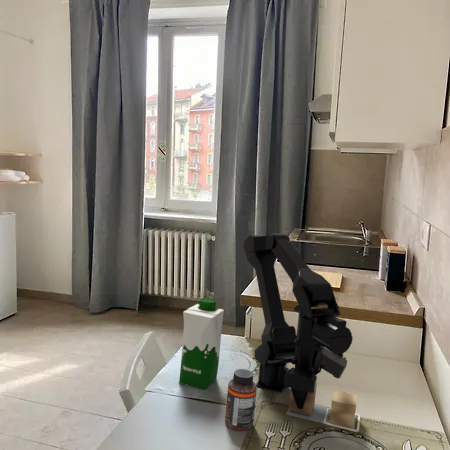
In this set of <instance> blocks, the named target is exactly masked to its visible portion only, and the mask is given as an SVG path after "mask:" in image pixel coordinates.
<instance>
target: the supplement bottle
mask: <svg viewBox="0 0 450 450" xmlns="http://www.w3.org/2000/svg"><path fill="white" fill-rule="evenodd" d="M256 384H257V383H256V382H255V381H254V373H253V372H252V371H251V370H249V369H246V368H237V369H235V370H234V371H233V377H232V379H231V380H230V381H228V384H227V385H228V386H227V394H226V405H225V416H224V418H225V419H224V422H225V424H226V426H227V427H228V428H229V429H232V430H233V431H237V432H244V431H248V430H250V429H252V428H253V425H254V420H255V409H256V400H257V391H258V389H257V388H258V387H257V386H256Z"/></svg>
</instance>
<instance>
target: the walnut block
mask: <svg viewBox="0 0 450 450" xmlns="http://www.w3.org/2000/svg"><path fill="white" fill-rule="evenodd" d="M317 384H318V383H317ZM317 384H316V387H315V390H314V392H311V393H310V392H308V394H307V397H306V400H305V403H304V406H303V409H298V408H297V405H296V402H295V399H294V396H293V394H292V391H291V390H290V394H289V402H288V408H289V410H291V411H295V412H299V413H303V414H307V415H311V414H312V411H313V408H314V405H315V402H316V396H317V394H316V393H317Z"/></svg>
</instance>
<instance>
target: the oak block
mask: <svg viewBox="0 0 450 450" xmlns="http://www.w3.org/2000/svg"><path fill="white" fill-rule="evenodd" d="M357 402H358V395H356V394H352V393H351V394H350V393H347V392H342V391H338V390H333V395H332V399H331V407H330V408H331V413H330V421H329V422H330V423H334V424H338V425H342V426H346V427H350V428H353V427H354V419H355V414H356V409H357V404H358V403H357Z"/></svg>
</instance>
